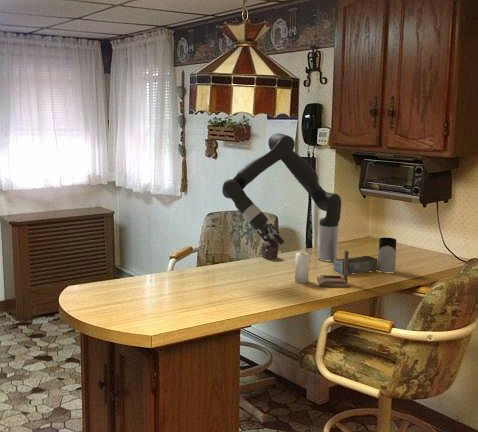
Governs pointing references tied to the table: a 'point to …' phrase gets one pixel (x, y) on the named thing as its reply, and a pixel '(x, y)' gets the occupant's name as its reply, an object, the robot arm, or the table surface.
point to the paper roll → (301, 267)
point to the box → (269, 251)
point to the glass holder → (387, 255)
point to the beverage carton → (356, 265)
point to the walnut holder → (336, 277)
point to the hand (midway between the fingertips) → (279, 245)
